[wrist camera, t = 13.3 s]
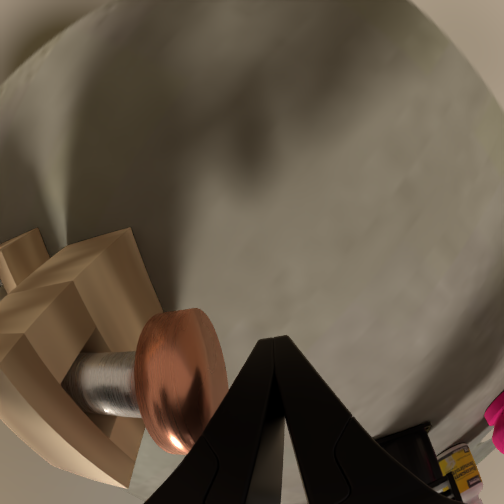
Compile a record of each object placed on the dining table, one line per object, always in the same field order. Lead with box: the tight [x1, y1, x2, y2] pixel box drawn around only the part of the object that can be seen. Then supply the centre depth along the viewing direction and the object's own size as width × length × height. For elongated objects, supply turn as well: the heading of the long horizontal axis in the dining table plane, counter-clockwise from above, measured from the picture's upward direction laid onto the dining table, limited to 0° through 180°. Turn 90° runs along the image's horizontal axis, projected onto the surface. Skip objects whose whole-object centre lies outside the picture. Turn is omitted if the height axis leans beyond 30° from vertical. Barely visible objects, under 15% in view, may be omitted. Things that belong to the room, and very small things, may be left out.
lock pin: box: [60, 308, 229, 455], centre depth 7 cm, size 8×4×4 cm, turn 102°
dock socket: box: [0, 227, 163, 489], centre depth 9 cm, size 14×9×8 cm, turn 102°
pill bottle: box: [437, 443, 483, 504], centre depth 19 cm, size 6×6×12 cm
